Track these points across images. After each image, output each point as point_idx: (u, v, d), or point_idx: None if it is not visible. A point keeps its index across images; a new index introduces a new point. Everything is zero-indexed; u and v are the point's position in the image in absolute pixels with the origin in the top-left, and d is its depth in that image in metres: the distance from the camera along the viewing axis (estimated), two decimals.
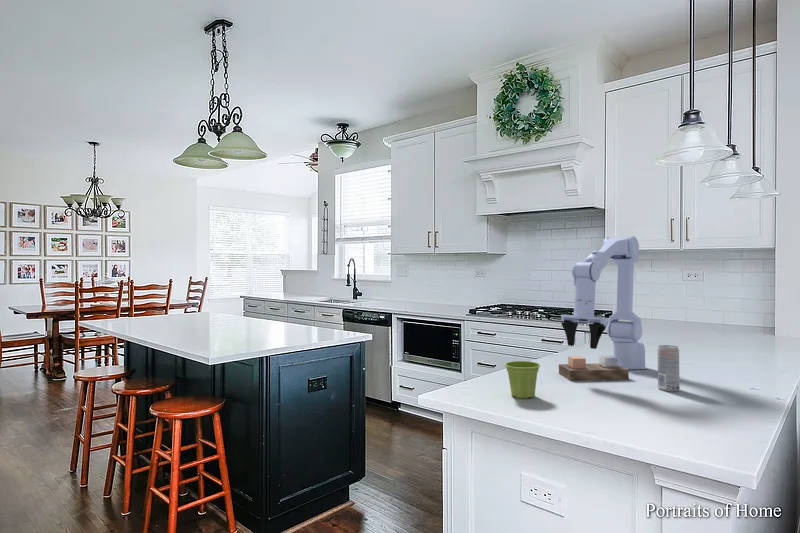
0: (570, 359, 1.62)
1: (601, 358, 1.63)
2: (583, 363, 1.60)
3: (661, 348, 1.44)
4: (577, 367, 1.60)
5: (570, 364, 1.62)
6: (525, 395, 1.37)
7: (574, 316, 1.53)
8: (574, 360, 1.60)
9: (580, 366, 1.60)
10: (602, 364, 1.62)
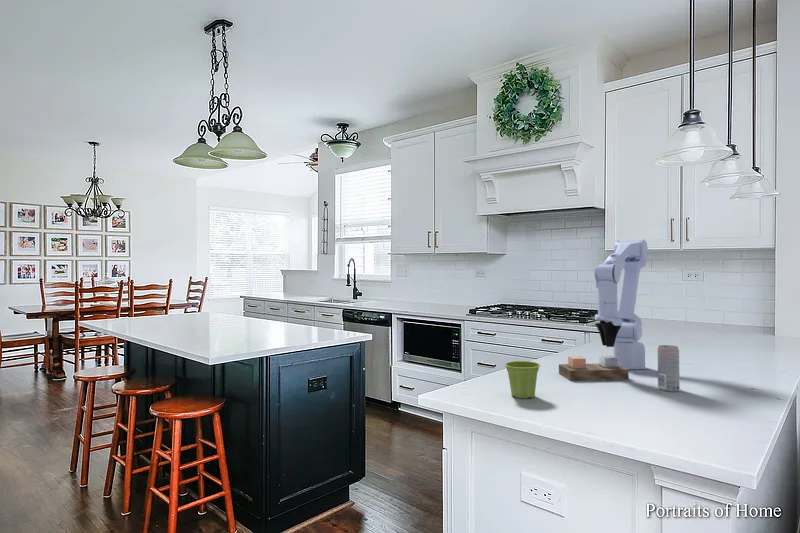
0: (570, 359, 1.62)
1: (601, 358, 1.63)
2: (583, 363, 1.60)
3: (661, 348, 1.44)
4: (577, 367, 1.60)
5: (570, 364, 1.62)
6: (525, 395, 1.37)
7: (594, 317, 1.62)
8: (574, 360, 1.60)
9: (580, 366, 1.60)
10: (602, 364, 1.62)
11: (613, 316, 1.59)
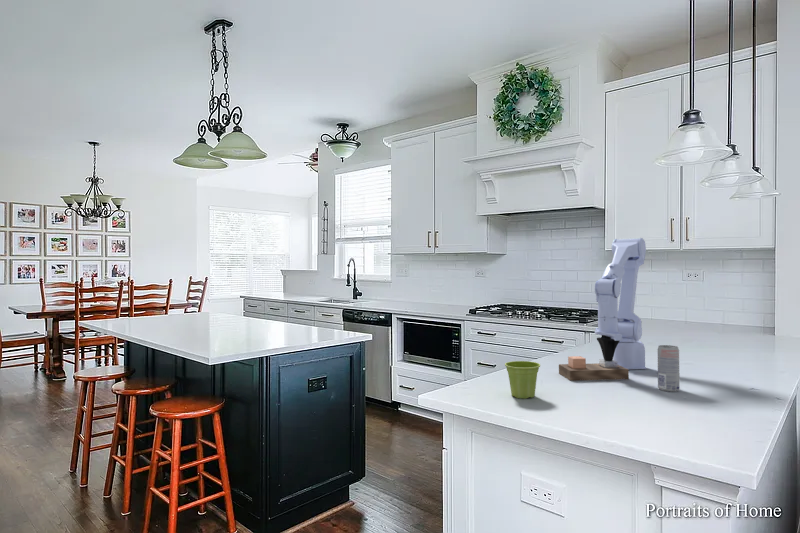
0: (570, 359, 1.62)
1: (601, 361, 1.63)
2: (583, 363, 1.60)
3: (661, 348, 1.44)
4: (577, 367, 1.60)
5: (570, 364, 1.62)
6: (525, 395, 1.37)
7: (595, 332, 1.63)
8: (574, 360, 1.60)
9: (580, 366, 1.60)
10: None
11: (613, 331, 1.60)
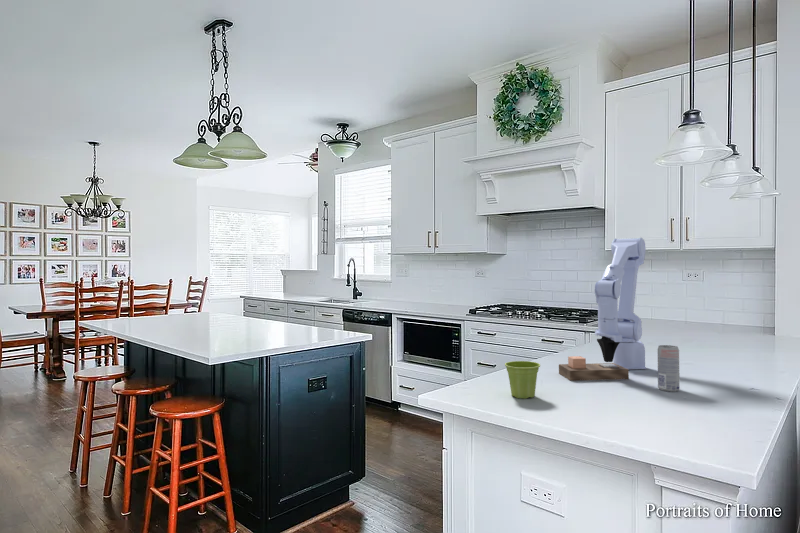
0: (570, 359, 1.62)
1: (601, 366, 1.63)
2: (583, 363, 1.60)
3: (661, 348, 1.44)
4: (577, 367, 1.60)
5: (570, 364, 1.62)
6: (525, 395, 1.37)
7: (595, 333, 1.63)
8: (574, 360, 1.60)
9: (580, 366, 1.60)
10: None
11: (613, 332, 1.60)
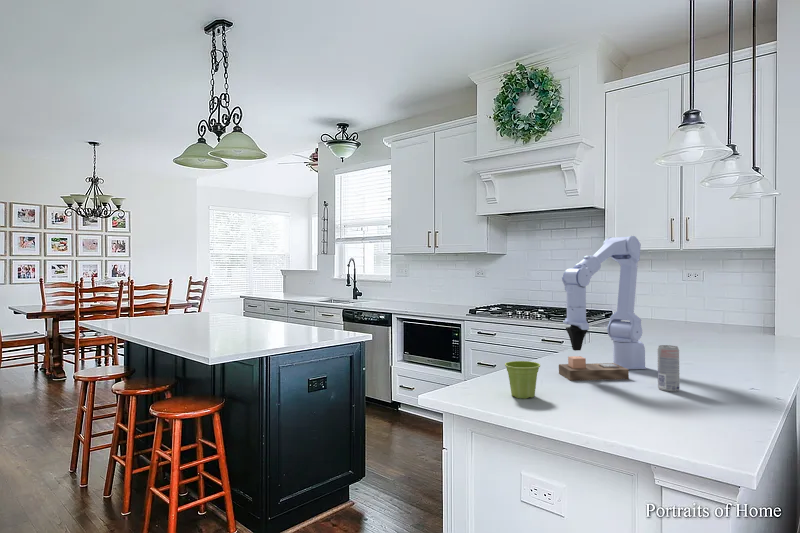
0: (570, 359, 1.62)
1: (601, 366, 1.63)
2: (583, 363, 1.60)
3: (661, 348, 1.44)
4: (577, 367, 1.60)
5: (570, 364, 1.62)
6: (525, 395, 1.37)
7: (563, 321, 1.62)
8: (574, 360, 1.60)
9: (580, 366, 1.60)
10: None
11: (581, 320, 1.59)
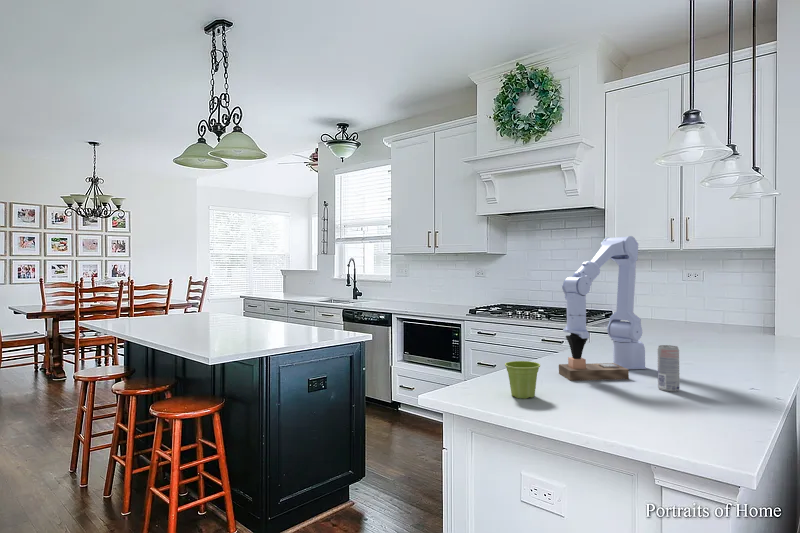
0: (570, 360, 1.62)
1: (601, 366, 1.63)
2: (583, 364, 1.60)
3: (661, 348, 1.44)
4: (577, 368, 1.60)
5: (570, 365, 1.62)
6: (525, 395, 1.37)
7: (563, 330, 1.62)
8: (574, 361, 1.60)
9: (580, 367, 1.60)
10: None
11: (581, 329, 1.59)
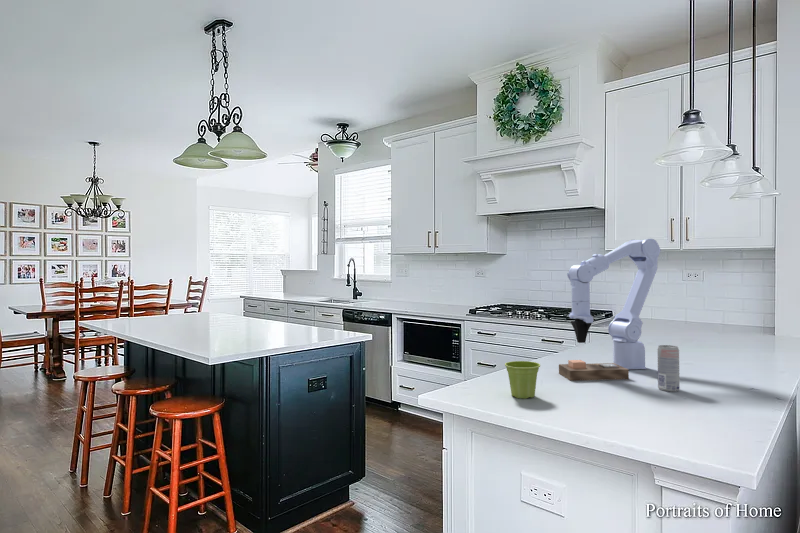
0: (570, 363, 1.62)
1: (601, 366, 1.63)
2: (583, 367, 1.60)
3: (661, 348, 1.44)
4: None
5: None
6: (525, 395, 1.37)
7: (568, 315, 1.71)
8: (574, 364, 1.60)
9: None
10: None
11: (585, 314, 1.68)
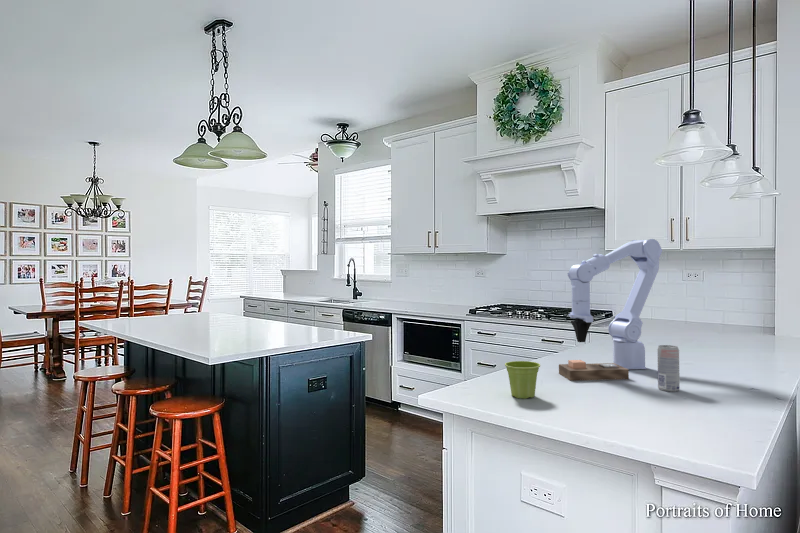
0: (570, 363, 1.62)
1: (601, 366, 1.63)
2: (583, 367, 1.60)
3: (661, 348, 1.44)
4: None
5: None
6: (525, 395, 1.37)
7: (568, 315, 1.71)
8: (574, 364, 1.60)
9: None
10: None
11: (585, 313, 1.68)
